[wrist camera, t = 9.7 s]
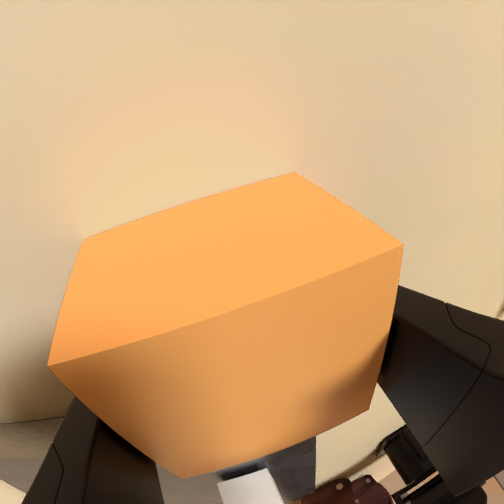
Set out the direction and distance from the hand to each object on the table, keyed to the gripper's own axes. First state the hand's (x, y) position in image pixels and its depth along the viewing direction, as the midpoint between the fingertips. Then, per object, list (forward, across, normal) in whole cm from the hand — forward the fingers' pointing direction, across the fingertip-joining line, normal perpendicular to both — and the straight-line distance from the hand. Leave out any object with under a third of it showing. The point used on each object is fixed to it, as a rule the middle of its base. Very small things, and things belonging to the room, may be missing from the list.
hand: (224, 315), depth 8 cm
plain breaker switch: (-1, +2, +11) cm, 11 cm away
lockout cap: (+1, 0, 0) cm, 1 cm away
